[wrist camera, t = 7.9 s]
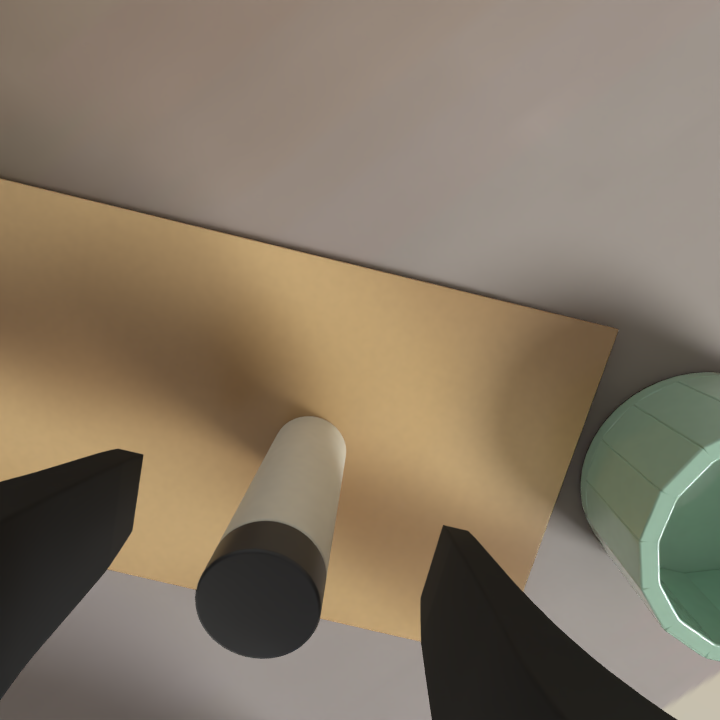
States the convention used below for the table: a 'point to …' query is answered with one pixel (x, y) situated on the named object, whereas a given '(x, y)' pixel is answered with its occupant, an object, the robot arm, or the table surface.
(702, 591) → the pen pot
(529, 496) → the cork mat
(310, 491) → the marker
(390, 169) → the table surface
